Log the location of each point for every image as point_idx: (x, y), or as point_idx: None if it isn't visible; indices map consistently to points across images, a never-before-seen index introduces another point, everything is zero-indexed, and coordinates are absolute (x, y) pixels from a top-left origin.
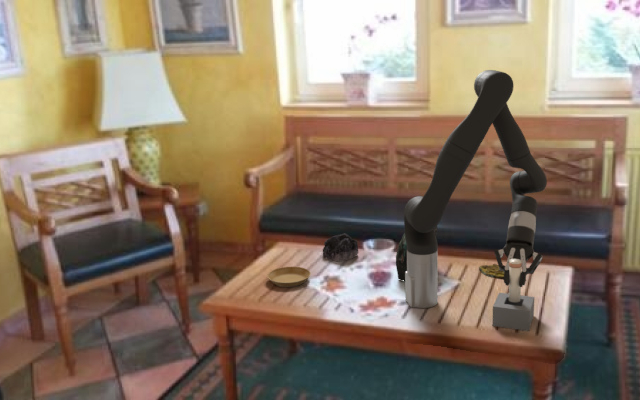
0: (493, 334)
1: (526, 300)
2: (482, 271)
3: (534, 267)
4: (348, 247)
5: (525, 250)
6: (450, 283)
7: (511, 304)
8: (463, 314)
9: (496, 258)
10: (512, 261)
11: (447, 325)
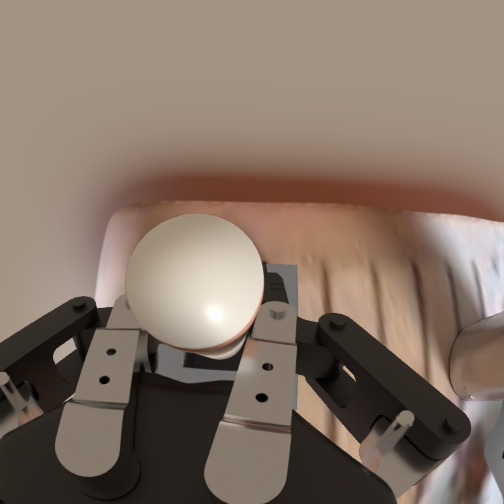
0: (270, 236)
1: (171, 358)
2: None
3: (52, 314)
4: None
5: (62, 471)
6: (432, 500)
7: (235, 370)
8: (378, 336)
9: (405, 365)
10: (224, 242)
11: (393, 255)
